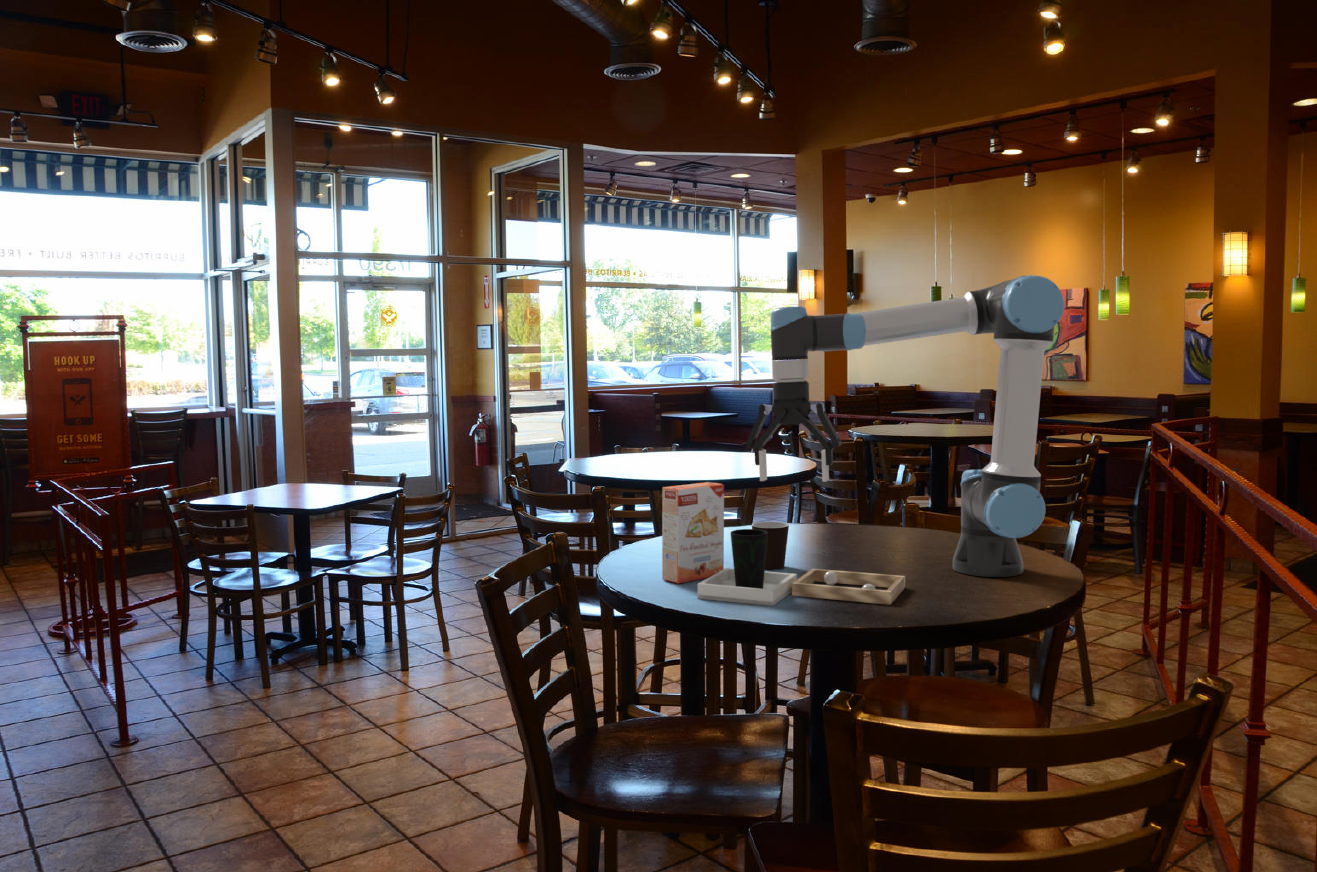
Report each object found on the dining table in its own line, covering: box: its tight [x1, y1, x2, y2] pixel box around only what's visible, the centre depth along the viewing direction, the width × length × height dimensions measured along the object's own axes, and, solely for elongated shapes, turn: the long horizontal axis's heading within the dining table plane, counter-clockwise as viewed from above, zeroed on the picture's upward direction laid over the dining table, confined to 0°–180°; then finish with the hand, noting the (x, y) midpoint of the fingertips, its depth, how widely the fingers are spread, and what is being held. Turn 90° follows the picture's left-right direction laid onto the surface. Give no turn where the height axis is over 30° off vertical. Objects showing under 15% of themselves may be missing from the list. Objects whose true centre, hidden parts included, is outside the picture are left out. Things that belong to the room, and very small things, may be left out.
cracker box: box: [661, 481, 725, 584], centre depth 212 cm, size 14×6×21 cm, turn 130°
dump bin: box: [697, 567, 798, 607], centre depth 197 cm, size 16×16×3 cm
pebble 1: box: [824, 571, 838, 586], centre depth 203 cm, size 3×3×3 cm
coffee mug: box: [751, 521, 790, 571], centre depth 223 cm, size 12×9×10 cm
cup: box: [730, 528, 768, 589], centre depth 197 cm, size 8×8×12 cm
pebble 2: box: [861, 584, 877, 590], centre depth 191 cm, size 3×3×3 cm
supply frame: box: [791, 568, 906, 606], centre depth 197 cm, size 20×15×2 cm
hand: (794, 480), depth 202 cm, fingers open, 13 cm apart
